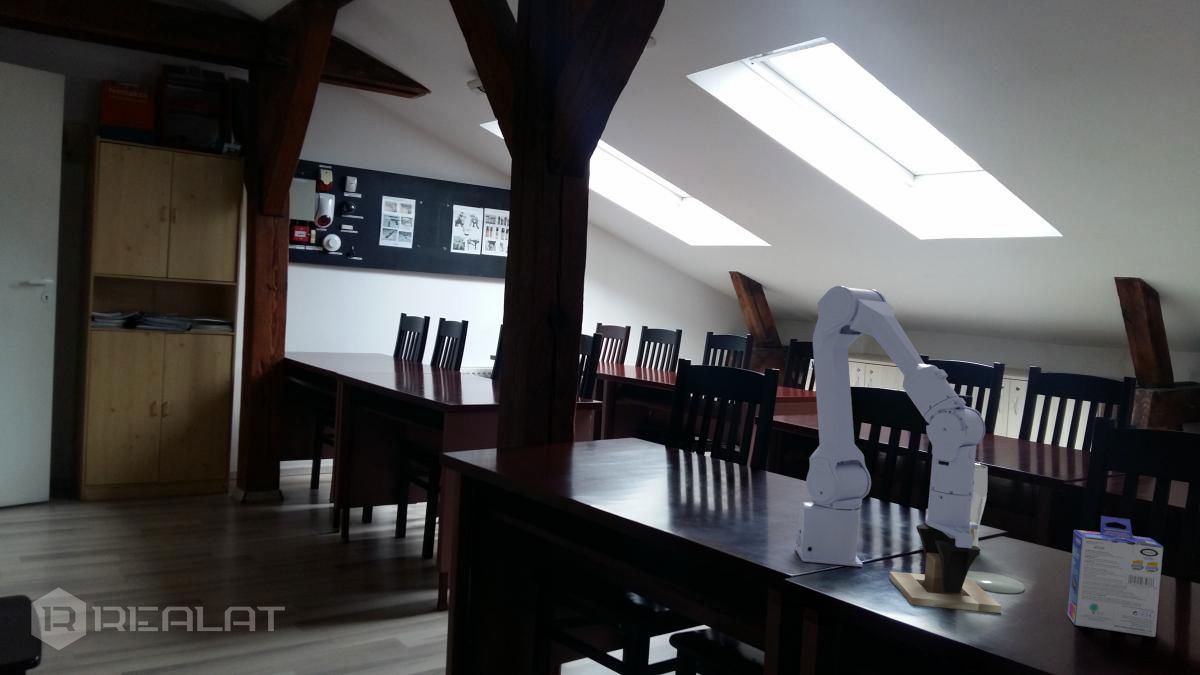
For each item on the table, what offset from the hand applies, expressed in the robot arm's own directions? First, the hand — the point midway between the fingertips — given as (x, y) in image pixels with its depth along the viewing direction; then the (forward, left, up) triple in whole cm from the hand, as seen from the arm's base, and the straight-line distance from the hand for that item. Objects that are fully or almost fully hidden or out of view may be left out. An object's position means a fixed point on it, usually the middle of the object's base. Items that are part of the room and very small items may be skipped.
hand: (942, 583), depth 124 cm
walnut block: (0, 0, -2) cm, 2 cm away
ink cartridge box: (+20, -7, -2) cm, 21 cm away
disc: (+10, +8, -2) cm, 13 cm away
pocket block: (0, 0, -2) cm, 2 cm away
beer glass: (+12, +28, -2) cm, 31 cm away
